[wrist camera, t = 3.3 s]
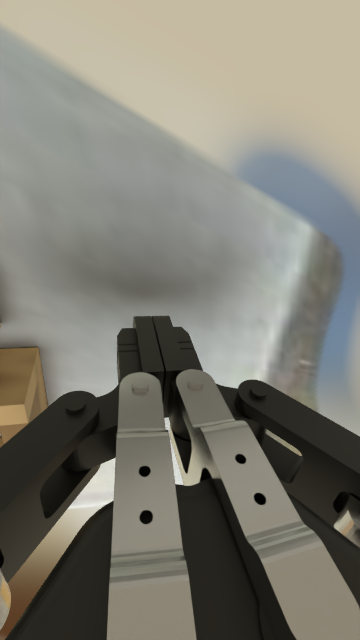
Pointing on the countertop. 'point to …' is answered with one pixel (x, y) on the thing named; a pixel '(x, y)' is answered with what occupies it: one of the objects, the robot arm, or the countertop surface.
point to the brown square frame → (20, 390)
